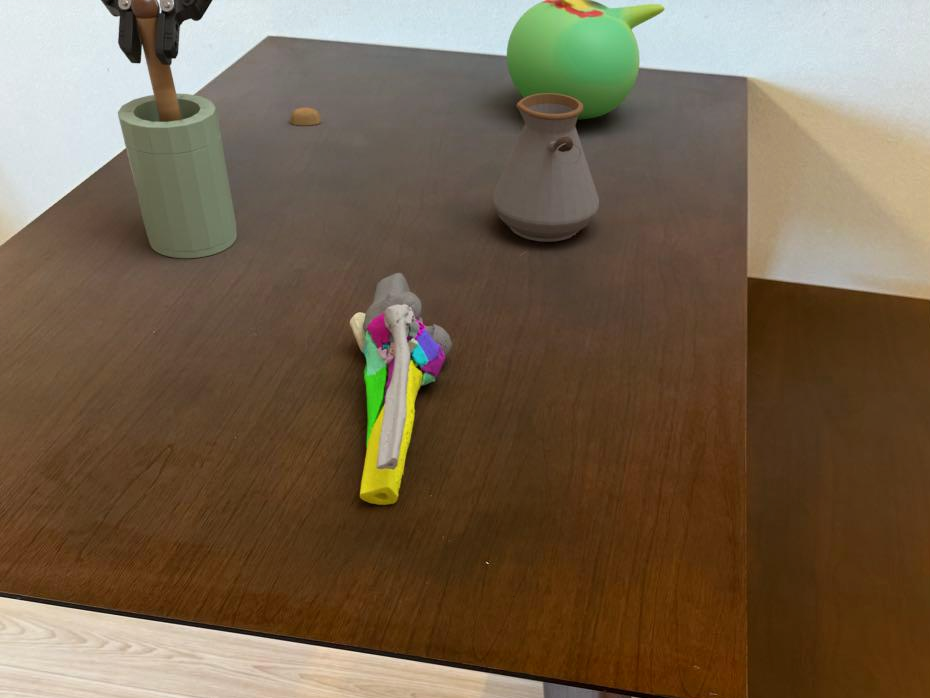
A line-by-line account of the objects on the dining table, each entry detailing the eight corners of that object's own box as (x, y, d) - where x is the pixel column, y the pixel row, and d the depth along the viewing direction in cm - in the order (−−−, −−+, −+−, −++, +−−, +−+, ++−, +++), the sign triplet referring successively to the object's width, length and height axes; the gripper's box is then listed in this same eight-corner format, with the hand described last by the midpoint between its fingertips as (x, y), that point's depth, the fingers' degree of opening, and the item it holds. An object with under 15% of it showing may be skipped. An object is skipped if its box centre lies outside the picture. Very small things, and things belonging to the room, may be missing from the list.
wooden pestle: (169, 217, 97) (116, -3, 83) (176, 201, 99) (125, -14, 86) (205, 216, 97) (158, -3, 83) (211, 201, 100) (167, -14, 86)
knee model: (364, 547, 75) (378, 337, 90) (459, 518, 72) (457, 309, 88) (300, 474, 68) (327, 261, 83) (403, 440, 66) (411, 228, 81)
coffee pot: (489, 202, 109) (491, 61, 99) (590, 203, 110) (602, 63, 100) (499, 298, 94) (503, 142, 83) (616, 297, 94) (635, 143, 84)
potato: (321, 125, 124) (320, 111, 123) (290, 126, 123) (288, 112, 122) (321, 117, 126) (320, 103, 125) (290, 118, 125) (288, 104, 124)
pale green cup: (140, 258, 97) (107, 126, 88) (159, 219, 103) (130, 92, 94) (229, 259, 97) (205, 128, 88) (243, 220, 104) (222, 94, 95)
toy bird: (481, 105, 131) (482, -16, 121) (572, 82, 139) (580, -34, 129) (570, 148, 121) (580, 20, 111) (663, 120, 130) (679, -2, 119)
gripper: (63, -165, 83) (50, 33, 83) (223, -157, 83) (211, 41, 83) (101, -105, 91) (89, 77, 90) (248, -98, 90) (237, 84, 90)
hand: (147, 59), depth 86 cm, fingers closed on wooden pestle, 2 cm apart
